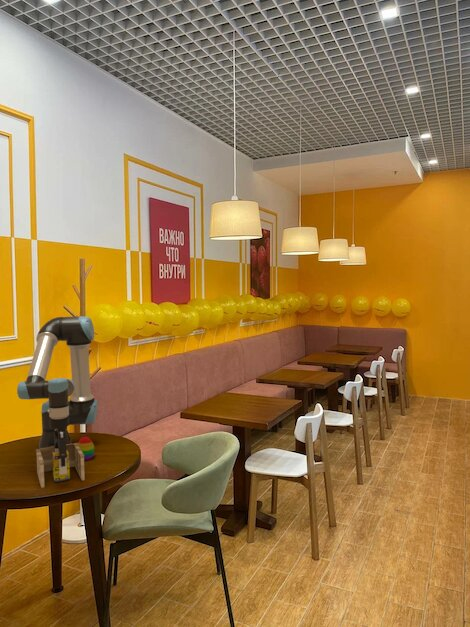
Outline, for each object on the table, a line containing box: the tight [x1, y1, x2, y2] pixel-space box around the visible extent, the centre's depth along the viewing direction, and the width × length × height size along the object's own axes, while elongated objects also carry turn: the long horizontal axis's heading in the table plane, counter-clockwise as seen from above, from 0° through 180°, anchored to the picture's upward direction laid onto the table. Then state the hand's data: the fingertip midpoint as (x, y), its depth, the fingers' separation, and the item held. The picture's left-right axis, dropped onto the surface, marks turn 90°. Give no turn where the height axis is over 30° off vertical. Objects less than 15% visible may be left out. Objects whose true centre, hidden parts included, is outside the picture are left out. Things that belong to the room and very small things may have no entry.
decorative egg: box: [76, 436, 95, 461], centre depth 221 cm, size 8×8×10 cm
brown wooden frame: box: [35, 442, 86, 489], centre depth 200 cm, size 19×17×10 cm
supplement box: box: [52, 450, 71, 483], centre depth 196 cm, size 6×6×11 cm
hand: (60, 468), depth 196 cm, fingers open, 13 cm apart
